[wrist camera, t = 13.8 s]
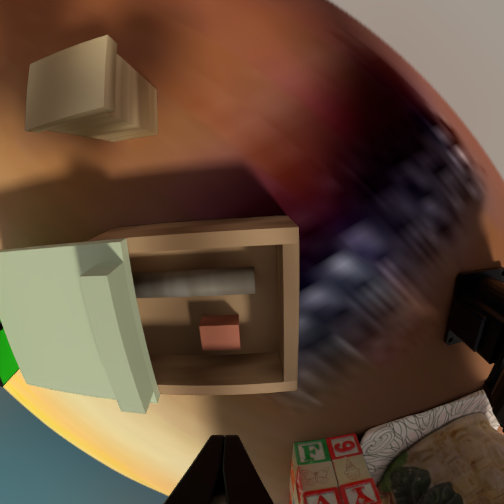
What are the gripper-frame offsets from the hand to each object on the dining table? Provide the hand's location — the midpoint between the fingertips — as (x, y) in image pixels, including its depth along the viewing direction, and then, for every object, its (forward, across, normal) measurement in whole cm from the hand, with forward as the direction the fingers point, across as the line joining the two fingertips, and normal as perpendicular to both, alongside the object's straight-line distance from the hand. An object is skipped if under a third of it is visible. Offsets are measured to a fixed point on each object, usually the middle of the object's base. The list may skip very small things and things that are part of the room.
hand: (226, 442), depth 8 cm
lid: (+8, +11, 0) cm, 13 cm away
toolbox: (+12, +5, 0) cm, 13 cm away
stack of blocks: (+12, -7, +26) cm, 30 cm away
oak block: (+12, +6, -12) cm, 18 cm away
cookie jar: (+12, -23, +26) cm, 37 cm away
